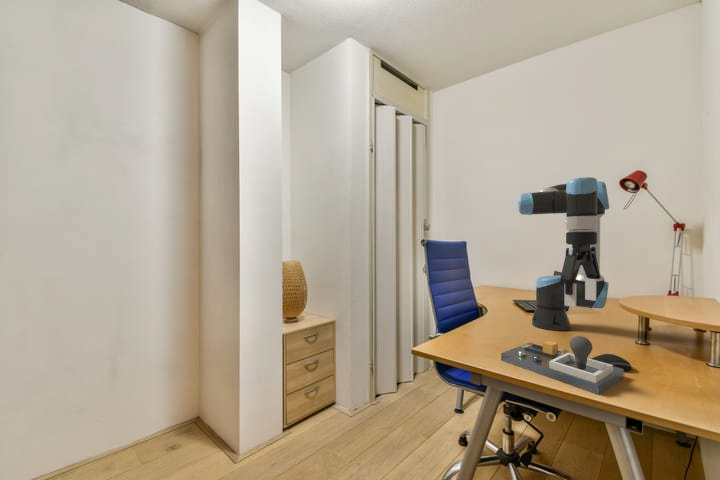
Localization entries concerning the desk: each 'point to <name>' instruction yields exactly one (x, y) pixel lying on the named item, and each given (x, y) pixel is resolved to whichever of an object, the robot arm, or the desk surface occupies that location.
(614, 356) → the computer mouse
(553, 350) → the wooden block
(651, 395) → the desk surface
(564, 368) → the socket
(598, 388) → the panel
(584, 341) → the light bulb
